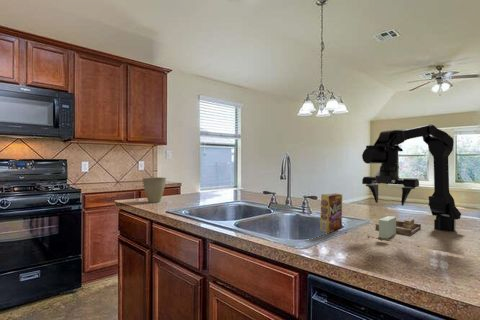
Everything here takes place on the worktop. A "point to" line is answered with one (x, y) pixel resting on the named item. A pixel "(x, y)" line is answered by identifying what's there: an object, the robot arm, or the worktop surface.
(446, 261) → the worktop surface
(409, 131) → the robot arm
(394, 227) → the pale grey rectangular block
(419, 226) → the rack
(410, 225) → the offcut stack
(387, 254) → the worktop surface
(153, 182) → the plant pot
